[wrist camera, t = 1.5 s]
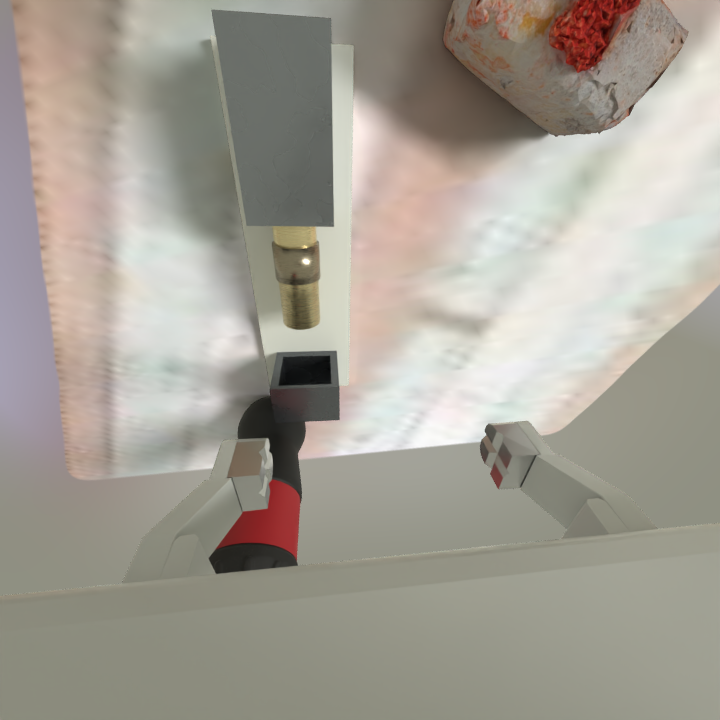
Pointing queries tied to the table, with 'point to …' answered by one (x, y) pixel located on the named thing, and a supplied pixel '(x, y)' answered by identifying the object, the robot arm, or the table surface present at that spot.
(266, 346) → the base
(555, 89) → the food item
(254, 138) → the grey tapered slab
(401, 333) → the table surface
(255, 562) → the cola bottle
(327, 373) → the socket
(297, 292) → the tube
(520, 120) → the table surface
